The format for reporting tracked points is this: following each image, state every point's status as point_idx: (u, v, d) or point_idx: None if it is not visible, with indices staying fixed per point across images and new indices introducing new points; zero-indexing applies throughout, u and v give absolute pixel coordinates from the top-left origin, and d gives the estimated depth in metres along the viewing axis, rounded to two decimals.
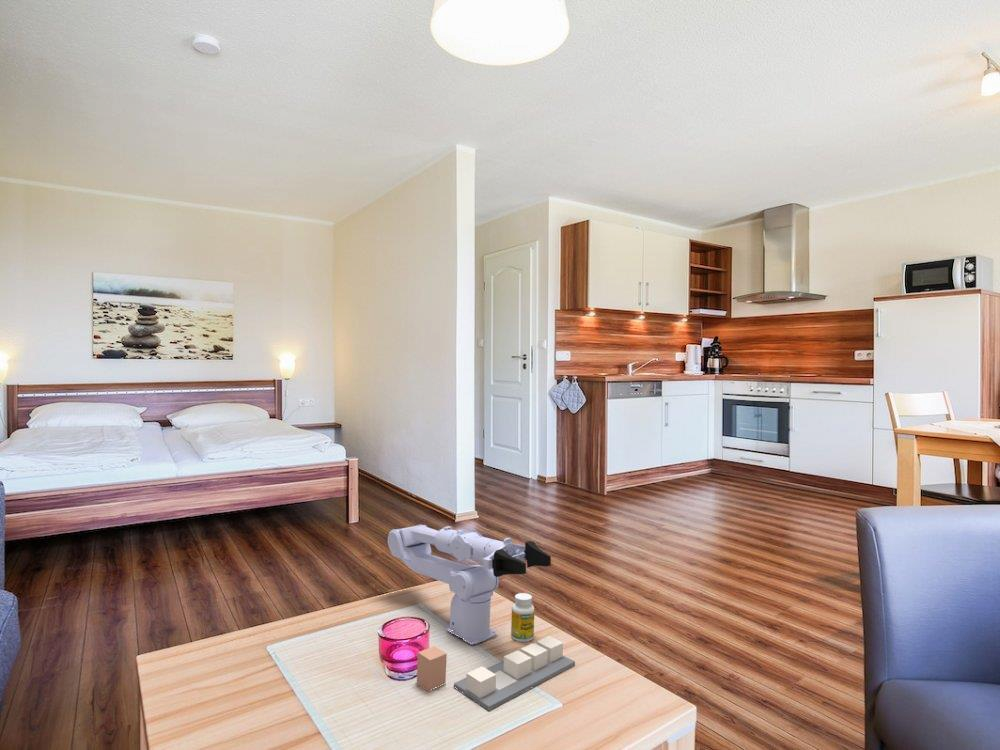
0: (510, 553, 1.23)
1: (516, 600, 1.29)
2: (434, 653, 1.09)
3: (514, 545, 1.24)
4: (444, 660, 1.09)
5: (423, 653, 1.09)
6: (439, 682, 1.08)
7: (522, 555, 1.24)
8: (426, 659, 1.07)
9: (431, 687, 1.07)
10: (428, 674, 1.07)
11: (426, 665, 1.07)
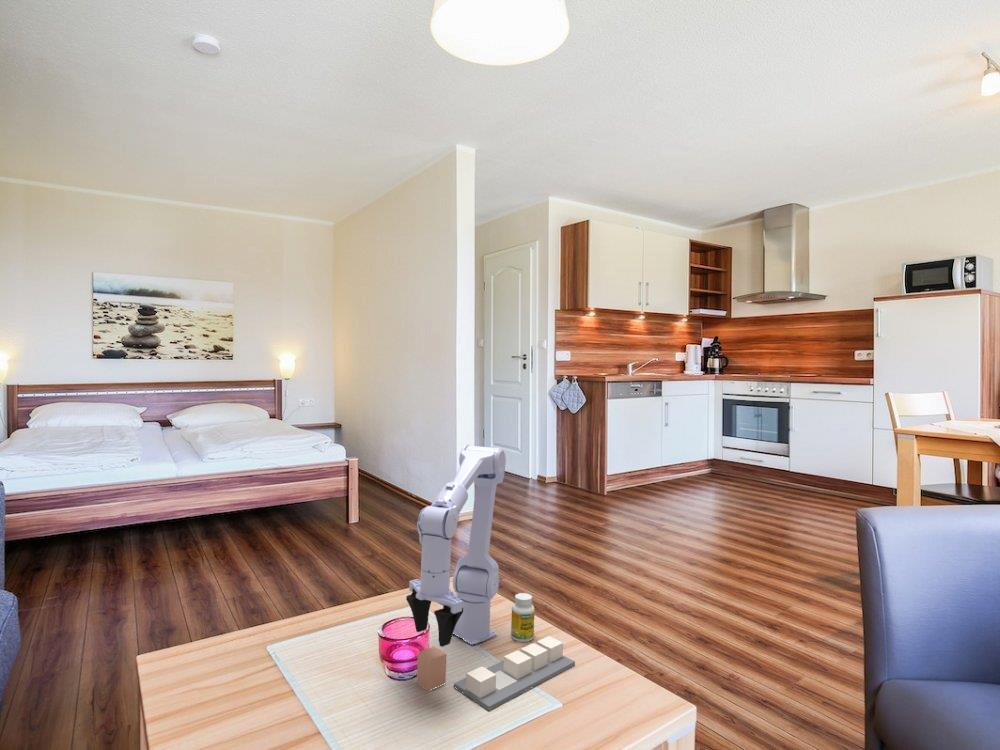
0: None
1: (516, 600, 1.29)
2: (434, 653, 1.09)
3: None
4: (444, 660, 1.09)
5: (423, 653, 1.09)
6: (439, 682, 1.08)
7: None
8: (426, 659, 1.07)
9: (431, 687, 1.07)
10: (428, 674, 1.07)
11: (426, 665, 1.07)
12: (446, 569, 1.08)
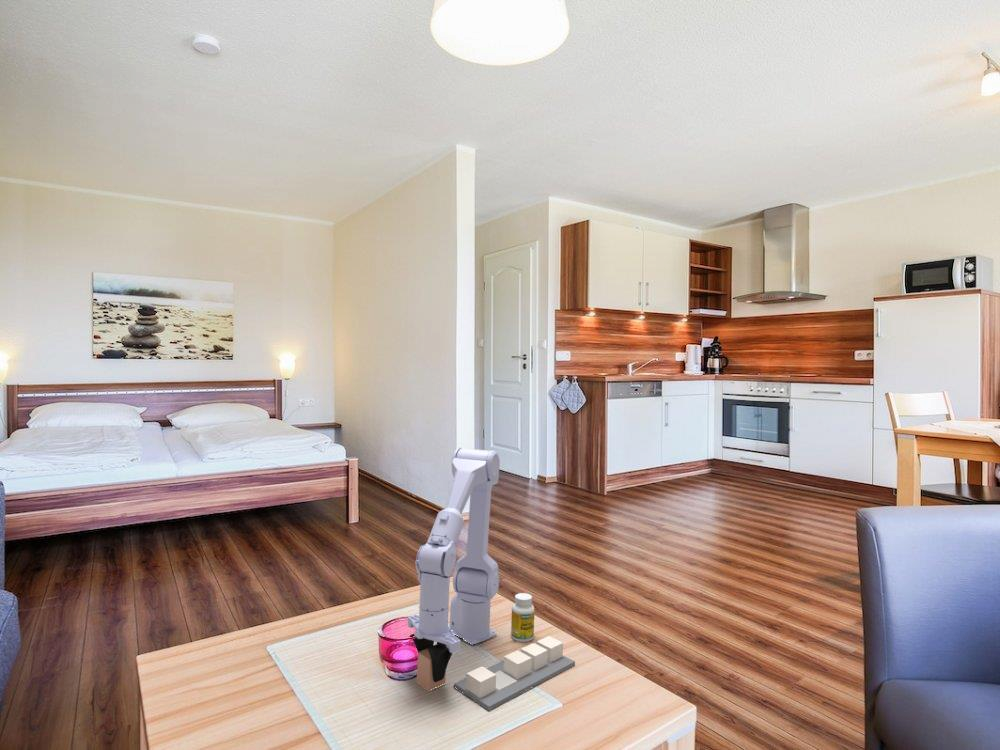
0: None
1: (516, 600, 1.29)
2: None
3: None
4: None
5: (423, 653, 1.09)
6: (439, 682, 1.08)
7: None
8: (426, 659, 1.07)
9: (431, 687, 1.07)
10: (428, 674, 1.07)
11: (426, 665, 1.07)
12: (444, 607, 1.07)
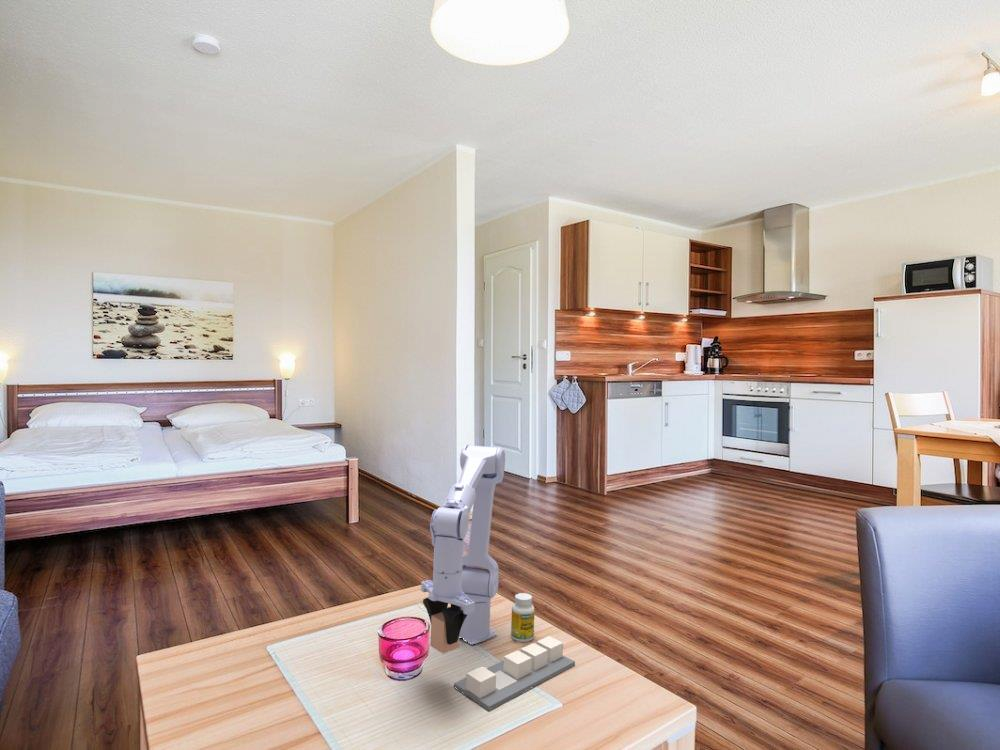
0: None
1: (516, 600, 1.29)
2: None
3: None
4: None
5: (437, 616, 1.09)
6: (453, 645, 1.08)
7: None
8: (440, 622, 1.07)
9: (445, 649, 1.07)
10: (442, 636, 1.07)
11: (439, 627, 1.07)
12: (459, 570, 1.08)
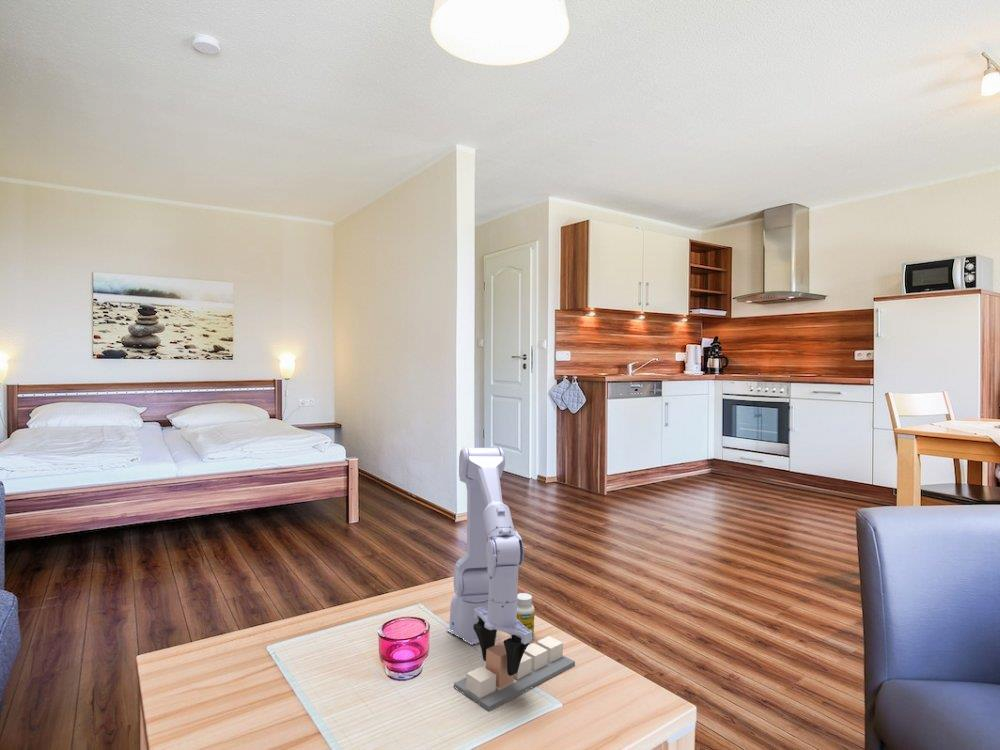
0: None
1: None
2: (502, 650, 1.09)
3: None
4: None
5: (492, 650, 1.09)
6: (508, 678, 1.08)
7: None
8: (496, 656, 1.08)
9: (501, 683, 1.07)
10: (498, 671, 1.07)
11: (496, 661, 1.08)
12: None
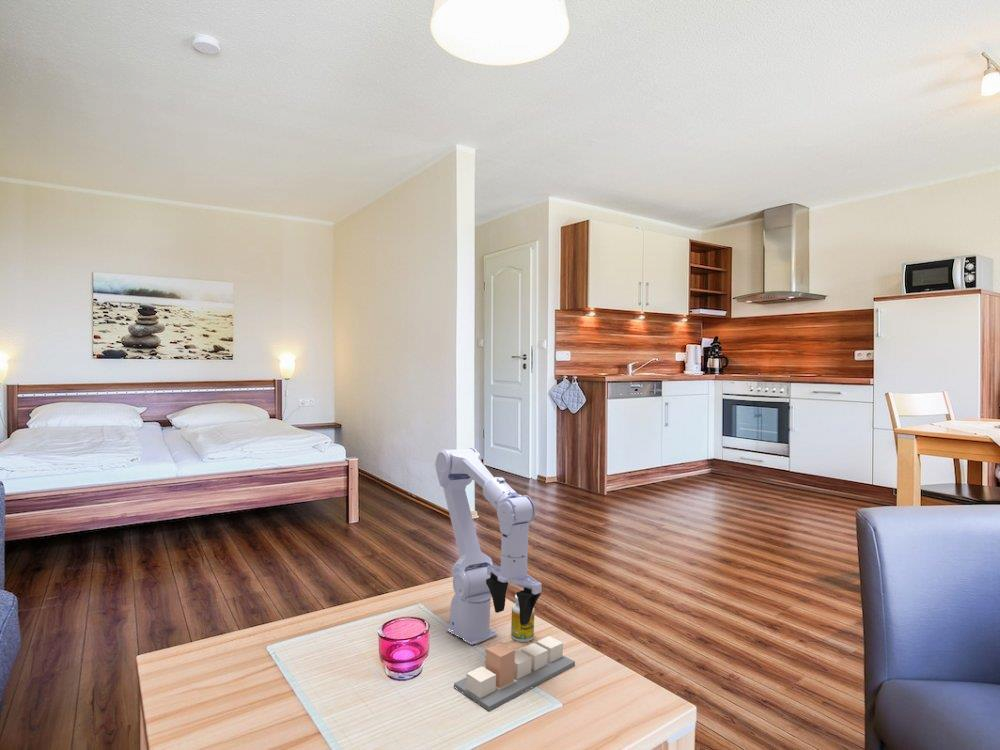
0: None
1: (516, 600, 1.29)
2: (502, 650, 1.09)
3: None
4: (513, 657, 1.09)
5: (492, 650, 1.09)
6: (508, 678, 1.08)
7: None
8: (496, 656, 1.08)
9: (501, 683, 1.07)
10: (498, 671, 1.07)
11: (496, 661, 1.08)
12: None
